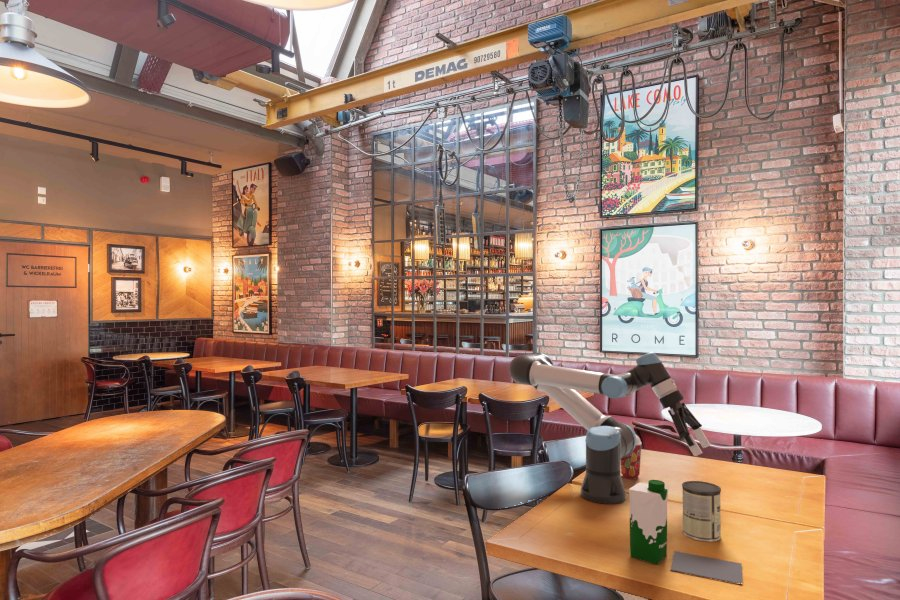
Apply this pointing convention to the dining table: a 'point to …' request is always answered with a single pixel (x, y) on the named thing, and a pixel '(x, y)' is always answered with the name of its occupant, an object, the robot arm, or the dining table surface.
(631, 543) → the soya milk
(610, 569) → the dining table surface
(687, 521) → the coffee can
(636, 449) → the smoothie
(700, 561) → the mat
